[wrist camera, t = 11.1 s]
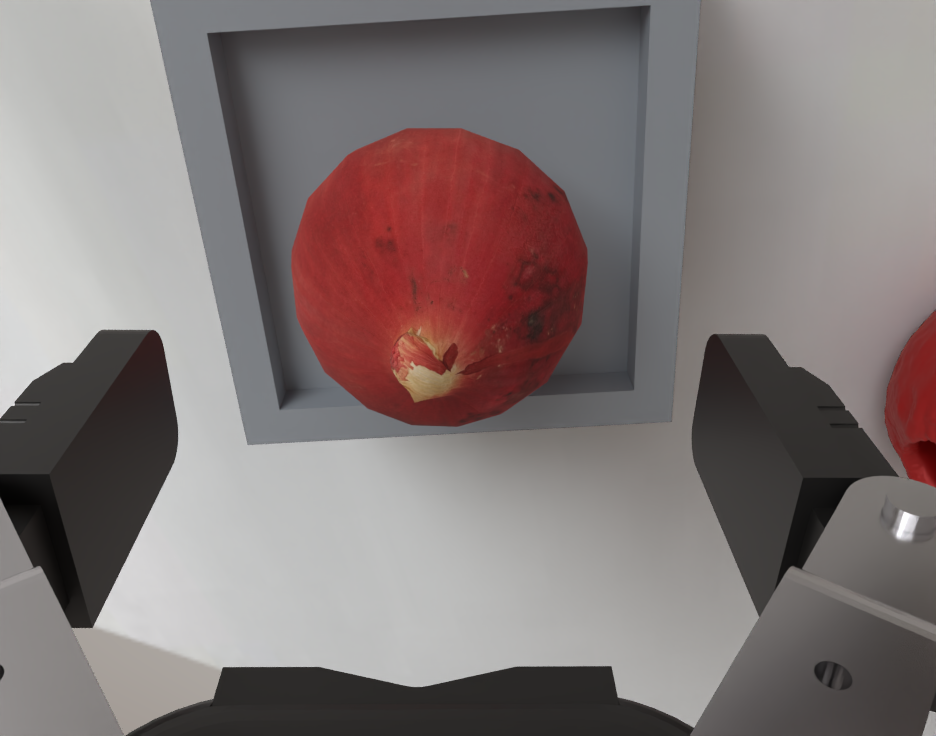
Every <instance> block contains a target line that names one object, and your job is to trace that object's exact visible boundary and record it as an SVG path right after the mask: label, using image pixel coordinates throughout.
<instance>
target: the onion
mask: <svg viewBox="0 0 936 736" xmlns="http://www.w3.org/2000/svg"><path fill="white" fill-rule="evenodd" d="M587 267H588V251H587V247H586V244H585V242H584V239H583V237H582V234H581V232H580V229H579V227H578V224H577V221H576V219H575V216H574V214H573V211H572V209H571V206H570V204H569V201H568V199H567V196H566V194H565V191H564V190H563V189H562V188H560V187H559V186H558V185H557V184H556V183H555V182H554V181H553V180H552V179H551V178H550V177H548V176H547V175H546V174H545V173H544V172H543V171H542V170H541V169H540V168H539V167H537V166H536V165H535V164H534V163H533V162H532V161H531V160H530V159H529V158H528V157H527V156H525V155H524V154H523V153H522V152H521V151H520V150H518V149H516V148H513V147H510V146H508V145H505V144H502V143H499V142H497V141H494V140H491V139H489V138H486V137H483V136H481V135H478V134H475V133H472V132H470V131H467V130H465V129H462V128H406V129H404V130H401V131H399V132H397V133H394V134H392V135H390V136H387V137H385V138H383V139H380V140H378V141H375V142H373V143H371V144H368V145H366V146H364V147H361V148H359V149H357V150H355V151H353V152H352V153H350V154H348V155H347V156H346V157H345V158H344V159H343V160H342V162H341V163H340V164H339V165H338V166H337V167H336V168H335V169H334V170H333V171H332V173H331V174H330V175H329V176H328V177H327V178H326V179H325V180H324V181H323V182H322V183H321V185H320V186H319V187H318V188H317V189H316V190H315V191H314V192H313V193H312V194H311V195H310V197H309V198H308V200H307V203H306V206H305V209H304V212H303V216H302V219H301V222H300V225H299V228H298V232H297V235H296V238H295V241H294V244H293V247H292V253H291V270H292V279H293V288H294V297H295V306H296V315H297V319H298V321H299V324H300V326H301V328H302V330H303V332H304V334H305V336H306V338H307V340H308V342H309V344H310V345H311V347H312V349H313V351H314V353H315V355H316V357H317V359H318V360H319V362H320V364H321V366H322V368H323V370H324V372H325V373H326V374H327V375H329V376H330V377H331V378H332V379H333V380H335V381H336V382H337V383H338V384H339V385H341V386H342V387H343V388H344V389H345V390H346V391H348V392H349V393H350V394H351V395H352V396H354V397H355V398H356V399H357V400H358V401H360V402H361V403H362V404H363V405H364V406H365V407H366V408H367V409H370V410H372V411H375V412H378V413H380V414H383V415H386V416H388V417H391V418H394V419H396V420H399V421H402V422H404V423H407V424H410V425H418V426H447V427H459V426H462V425H466V424H469V423H472V422H476V421H479V420H483V419H486V418H490V417H493V416H496V415H500V414H502V413H504V412H505V411H507V410H508V409H510V408H511V407H513V406H514V405H515V404H517V403H518V402H520V401H521V400H523V399H524V398H525V397H527V396H528V395H530V394H531V393H532V392H534V391H535V390H537V389H538V388H540V387H541V386H542V385H544V384H545V383H547V382H548V380H549V378H550V376H551V375H552V373H553V371H554V369H555V368H556V366H557V364H558V362H559V361H560V359H561V357H562V356H563V354H564V352H565V351H566V349H567V347H568V346H569V344H570V342H571V341H572V339H573V337H574V336H575V334H576V332H577V331H578V329H579V327H580V326H581V324H582V315H583V305H584V295H585V286H586V276H587Z"/></svg>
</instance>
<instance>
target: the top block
mask: <svg viewBox="0 0 936 736" xmlns="http://www.w3.org/2000/svg"><path fill="white" fill-rule="evenodd" d="M150 2H151V7H152V11H153V16H154V20H155V25H156V29H157V34H158V39H159V43H160V48H161V52H162V57H163V61H164V66H165V71H166V75H167V80H168V84H169V89H170V93H171V98H172V102H173V107H174V112H175V116H176V121H177V125H178V130H179V134H180V139H181V143H182V148H183V153H184V157H185V162H186V166H187V171H188V175H189V180H190V184H191V189H192V194H193V198H194V203H195V207H196V212H197V216H198V221H199V225H200V230H201V235H202V239H203V244H204V248H205V253H206V257H207V262H208V266H209V271H210V276H211V280H212V285H213V289H214V294H215V298H216V303H217V307H218V312H219V317H220V321H221V326H222V330H223V335H224V339H225V344H226V348H227V353H228V358H229V362H230V367H231V371H232V376H233V380H234V385H235V389H236V394H237V399H238V403H239V408H240V412H241V417H242V421H243V426H244V430H245V435H246V440H247V444H248V445H255V444H274V443H292V442H310V441H328V440H347V439H365V438H383V437H402V436H420V435H438V434H456V433H475V432H493V431H511V430H529V429H548V428H566V427H584V426H603V425H621V424H639V423H657V422H671V421H672V407H673V392H674V378H675V364H676V349H677V335H678V321H679V306H680V292H681V277H682V263H683V249H684V234H685V220H686V205H687V191H688V177H689V162H690V148H691V133H692V119H693V105H694V90H695V76H696V61H697V47H698V33H699V18H700V4H701V0H150ZM406 128H462V129H465V130H467V131H470V132H472V133H475V134H478V135H481V136H483V137H486V138H489V139H491V140H494V141H497V142H499V143H502V144H505V145H508V146H510V147H513V148H516V149H518V150H520V151H521V152H522V153H523V154H524V155H525V156H527V157H528V158H529V159H530V160H531V161H532V162H533V163H534V164H535V165H536V166H537V167H539V168H540V169H541V170H542V171H543V172H544V173H545V174H546V175H547V176H548V177H550V178H551V179H552V180H553V181H554V182H555V183H556V184H557V185H558V186H559V187H560V188H562V189H563V190H564V191H565V194H566V196H567V199H568V201H569V204H570V206H571V209H572V211H573V214H574V216H575V219H576V221H577V224H578V227H579V229H580V232H581V234H582V237H583V239H584V242H585V244H586V247H587V251H588V267H587V276H586V286H585V295H584V305H583V315H582V324H581V326H580V327H579V329H578V331H577V332H576V334H575V336H574V337H573V339H572V341H571V342H570V344H569V346H568V347H567V349H566V351H565V352H564V354H563V356H562V357H561V359H560V361H559V362H558V364H557V366H556V368H555V369H554V371H553V373H552V375H551V376H550V378H549V380H548V382H547V383H545V384H544V385H542V386H541V387H540V388H538V389H537V390H535V391H534V392H532V393H531V394H530V395H528V396H527V397H525V398H524V399H523V400H521V401H520V402H518V403H517V404H515V405H514V406H513V407H511V408H510V409H508V410H507V411H505V412H504V413H502V414H500V415H496V416H493V417H490V418H486V419H483V420H479V421H476V422H472V423H469V424H466V425H462V426H459V427H447V426H418V425H410V424H407V423H404V422H402V421H399V420H396V419H394V418H391V417H388V416H386V415H383V414H380V413H378V412H375V411H372V410H370V409H367V408H366V407H365V406H364V405H363V404H362V403H361V402H360V401H358V400H357V399H356V398H355V397H354V396H352V395H351V394H350V393H349V392H348V391H346V390H345V389H344V388H343V387H342V386H341V385H339V384H338V383H337V382H336V381H335V380H333V379H332V378H331V377H330V376H329V375H327V374H326V373H325V372H324V370H323V368H322V366H321V364H320V362H319V360H318V359H317V357H316V355H315V353H314V351H313V349H312V347H311V345H310V344H309V342H308V340H307V338H306V336H305V334H304V332H303V330H302V328H301V326H300V324H299V321H298V319H297V315H296V306H295V297H294V288H293V279H292V270H291V253H292V247H293V244H294V241H295V238H296V235H297V232H298V228H299V225H300V222H301V219H302V216H303V212H304V209H305V206H306V203H307V200H308V198H309V197H310V195H311V194H312V193H313V192H314V191H315V190H316V189H317V188H318V187H319V186H320V185H321V183H322V182H323V181H324V180H325V179H326V178H327V177H328V176H329V175H330V174H331V173H332V171H333V170H334V169H335V168H336V167H337V166H338V165H339V164H340V163H341V162H342V160H343V159H344V158H345V157H346V156H347V155H348V154H350V153H352V152H353V151H355V150H357V149H359V148H361V147H364V146H366V145H368V144H371V143H373V142H375V141H378V140H380V139H383V138H385V137H387V136H390V135H392V134H394V133H397V132H399V131H401V130H404V129H406Z"/></svg>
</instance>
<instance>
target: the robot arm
mask: <svg viewBox="0 0 936 736" xmlns="http://www.w3.org/2000/svg"><path fill="white" fill-rule="evenodd" d="M177 445H178V424H177V417H176V412H175V407H174V401H173V396H172V390H171V385H170V379H169V374H168V368H167V363H166V358H165V352H164V347H163V343H162V340H161V338H160V336H159V334H158V333H157V332H156V331H154V330H101V331H99V332H98V333H97V334H96V335H95V337H94V338H93V339H92V340H91V341H90V343H89V344H88V345H87V346H86V348H85V349H84V350H83V351H82V353H81V354H80V355H79V356H78V357H77V359H76V360H75V361H74V362H73V363H62V364H60V365H59V366H57V367H55V368H54V369H52V370H50V371H49V372H47V373H45V374H44V375H42V376H40V377H39V378H37V379H35V380H34V381H32V383H31V384H30V385H29V386H28V387H27V388H26V389H25V391H24V392H23V393H22V394H21V395H20V396H19V398H18V399H17V400H16V401H15V406H11V407H10V408H9V409H8V410H7V411H6V413H5V414H4V415H3V416H2V417H1V418H0V736H124V734H123V732H122V730H121V728H120V726H119V724H118V722H117V720H116V717H115V716H114V713H113V711H112V709H111V707H110V705H109V703H108V701H107V699H106V697H105V695H104V693H103V691H102V689H101V687H100V685H99V683H98V681H97V679H96V677H95V675H94V673H93V671H92V669H91V667H90V665H89V663H88V661H87V659H86V657H85V655H84V653H83V651H82V648H81V646H80V644H79V642H78V640H77V638H76V636H75V634H74V633H73V630H72V628H93V626H94V624H95V622H96V620H97V618H98V616H99V614H100V612H101V610H102V607H103V605H104V603H105V601H106V599H107V597H108V595H109V593H110V591H111V589H112V587H113V585H114V583H115V581H116V579H117V577H118V575H119V573H120V571H121V569H122V567H123V565H124V563H125V561H126V559H127V557H128V555H129V553H130V551H131V549H132V547H133V545H134V543H135V541H136V539H137V536H138V534H139V532H140V530H141V528H142V526H143V524H144V522H145V520H146V518H147V516H148V514H149V512H150V510H151V508H152V506H153V504H154V502H155V500H156V498H157V496H158V494H159V492H160V490H161V488H162V486H163V484H164V482H165V480H166V478H167V476H168V474H169V472H170V470H171V467H172V465H173V463H174V460H175V457H176V452H177ZM692 451H693V458H694V462H695V466H696V468H697V471H698V473H699V475H700V478H701V480H702V482H703V485H704V487H705V490H706V492H707V494H708V497H709V499H710V501H711V504H712V506H713V508H714V511H715V513H716V516H717V518H718V520H719V523H720V525H721V527H722V530H723V532H724V534H725V537H726V539H727V542H728V544H729V546H730V549H731V551H732V553H733V556H734V558H735V561H736V563H737V565H738V568H739V570H740V572H741V575H742V577H743V579H744V582H745V584H746V587H747V589H748V591H749V594H750V596H751V598H752V601H753V603H754V605H755V608H756V610H757V613H758V615H759V619H758V621H757V622H756V624H755V626H754V627H753V629H752V631H751V633H750V634H749V636H748V638H747V639H746V641H745V643H744V644H743V646H742V648H741V649H740V651H739V653H738V655H737V656H736V658H735V660H734V661H733V663H732V665H731V666H730V668H729V670H728V672H727V673H726V675H725V677H724V678H723V680H722V682H721V683H720V685H719V687H718V688H717V690H716V692H715V694H714V695H713V697H712V699H711V700H710V702H709V704H708V705H707V707H706V709H705V711H704V712H703V714H702V716H701V717H700V719H699V721H698V722H697V724H696V726H695V728H693V727H691V726H689V725H688V724H686V723H684V722H682V721H681V720H679V719H677V718H675V717H673V716H670V715H668V714H666V713H664V712H661V711H659V710H657V709H655V708H652V707H649V706H646V705H643V704H640V703H637V702H634V701H630V700H626V699H622V698H618V697H617V692H616V687H615V682H614V677H613V672H612V667H611V666H578V667H513V668H508V669H504V670H499V671H494V672H490V673H485V674H481V675H476V676H472V677H467V678H463V679H458V680H454V681H449V682H444V683H440V684H435V685H431V686H426V687H408V686H403V685H398V684H394V683H389V682H385V681H380V680H376V679H371V678H366V677H362V676H357V675H353V674H348V673H344V672H339V671H334V670H330V669H325V668H321V667H223V669H222V672H221V676H220V679H219V683H218V686H217V689H216V693H215V696H214V699H212V700H208V701H203V702H199V703H196V704H193V705H190V706H187V707H184V708H181V709H178V710H175V711H173V712H170V713H168V714H166V715H163V716H161V717H159V718H157V719H154V720H152V721H151V722H149V723H147V724H145V725H143V726H141V727H140V728H137V729H136V730H134V731H132V732H131V733H129V734H128V735H126V736H922V734H923V731H924V727H925V724H926V721H927V718H928V714H929V711H933V712H936V488H935V487H933V486H930V485H928V484H925V483H922V482H919V481H915V480H912V479H907V478H902V477H899V476H898V475H897V474H896V472H895V471H894V470H893V468H892V467H891V466H890V464H889V463H888V462H887V460H886V459H885V458H884V457H883V455H882V454H881V453H880V451H879V450H878V449H877V447H876V446H875V445H874V443H873V442H872V441H871V440H870V438H869V437H868V436H867V434H866V433H865V432H864V430H863V429H862V428H858V423H857V421H856V420H855V419H854V417H853V416H852V415H851V413H850V412H849V411H845V406H844V404H843V403H842V402H841V400H840V399H839V398H838V396H837V395H836V394H835V392H834V391H833V390H832V388H831V387H830V386H829V385H828V384H826V383H825V382H823V381H821V380H820V379H818V378H817V377H815V376H814V375H812V374H811V373H809V372H808V371H806V370H805V369H803V368H801V367H789V366H788V365H787V364H786V362H785V361H784V359H783V358H782V357H781V355H780V354H779V352H778V351H777V350H776V348H775V347H774V345H773V344H772V343H771V341H770V340H769V338H768V337H767V336H766V335H763V334H713V335H712V336H711V337H710V338H709V340H708V342H707V345H706V349H705V354H704V360H703V366H702V372H701V378H700V384H699V390H698V395H697V401H696V407H695V413H694V419H693V426H692Z"/></svg>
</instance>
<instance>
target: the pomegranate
mask: <svg viewBox="0 0 936 736" xmlns="http://www.w3.org/2000/svg"><path fill="white" fill-rule="evenodd" d="M886 397H887V399H886V407H885V424H886V427H887V431H888V436H889V438H890V441H891V443H892V445H893V447H894V449H895V451H896V452H897V454H898V455H899V457H900V459H901V461H902V463H903V466H904V467H905V469H906V472H907V475H908V477H909V479H912V480H915V481H919V482H922V483H925V484H928V485H930V486H933V487H935V488H936V310H935V311H934V312H933V313H932V314H931V315H930V316H929V318H928V319H927V320H926V321H925V322H924V323H923V324H922V325H921V326H920V327H919V329H918V330H917V331H916V332H915V333H914V334H913V335H912V336H911V338H910V339H909V341H908V342H907V344H906V345H905V347H904V349H903V350H902V352H901V354H900V357H899V359H898V361H897V363H896V365H895V368H894V371H893V374H892V376H891V379H890V382H889V384H888V387H887V396H886Z"/></svg>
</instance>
